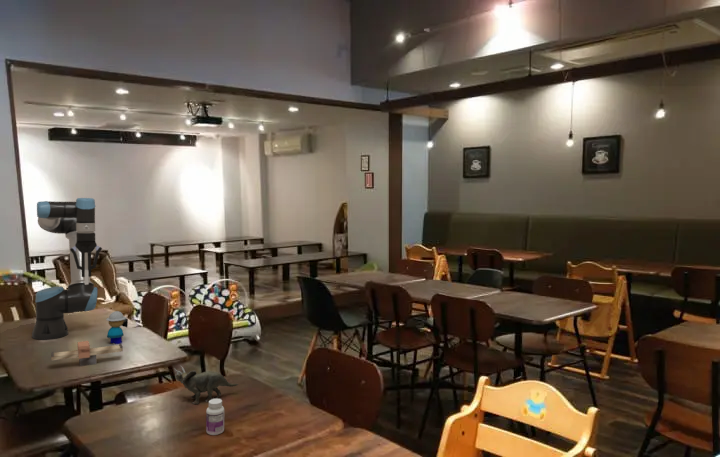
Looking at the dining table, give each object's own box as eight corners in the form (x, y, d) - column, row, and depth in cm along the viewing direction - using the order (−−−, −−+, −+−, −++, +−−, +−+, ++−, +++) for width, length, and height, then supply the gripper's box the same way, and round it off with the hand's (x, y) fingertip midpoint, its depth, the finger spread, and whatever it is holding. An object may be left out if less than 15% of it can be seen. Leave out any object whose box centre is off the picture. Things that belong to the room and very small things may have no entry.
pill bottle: (208, 427, 159) (208, 397, 159) (225, 427, 160) (225, 397, 159) (204, 435, 154) (204, 404, 153) (222, 435, 154) (222, 404, 154)
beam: (51, 370, 205) (51, 355, 204) (51, 366, 209) (51, 352, 208) (122, 360, 218) (122, 346, 218) (121, 357, 222) (121, 343, 222)
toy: (130, 341, 245) (130, 310, 244) (114, 346, 237) (114, 314, 236) (117, 338, 249) (117, 308, 248) (102, 343, 241) (101, 312, 240)
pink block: (78, 358, 208) (78, 346, 208) (77, 353, 214) (77, 342, 214) (89, 357, 210) (89, 345, 210) (88, 352, 217) (88, 340, 216)
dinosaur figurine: (238, 393, 186) (238, 363, 186) (237, 403, 178) (237, 371, 177) (175, 396, 183) (175, 365, 182) (170, 405, 174) (170, 373, 174)
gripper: (69, 233, 224) (70, 286, 226) (102, 232, 231) (103, 284, 233) (68, 231, 230) (69, 283, 232) (101, 231, 237) (101, 281, 239)
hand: (86, 284), depth 232 cm, fingers closed
